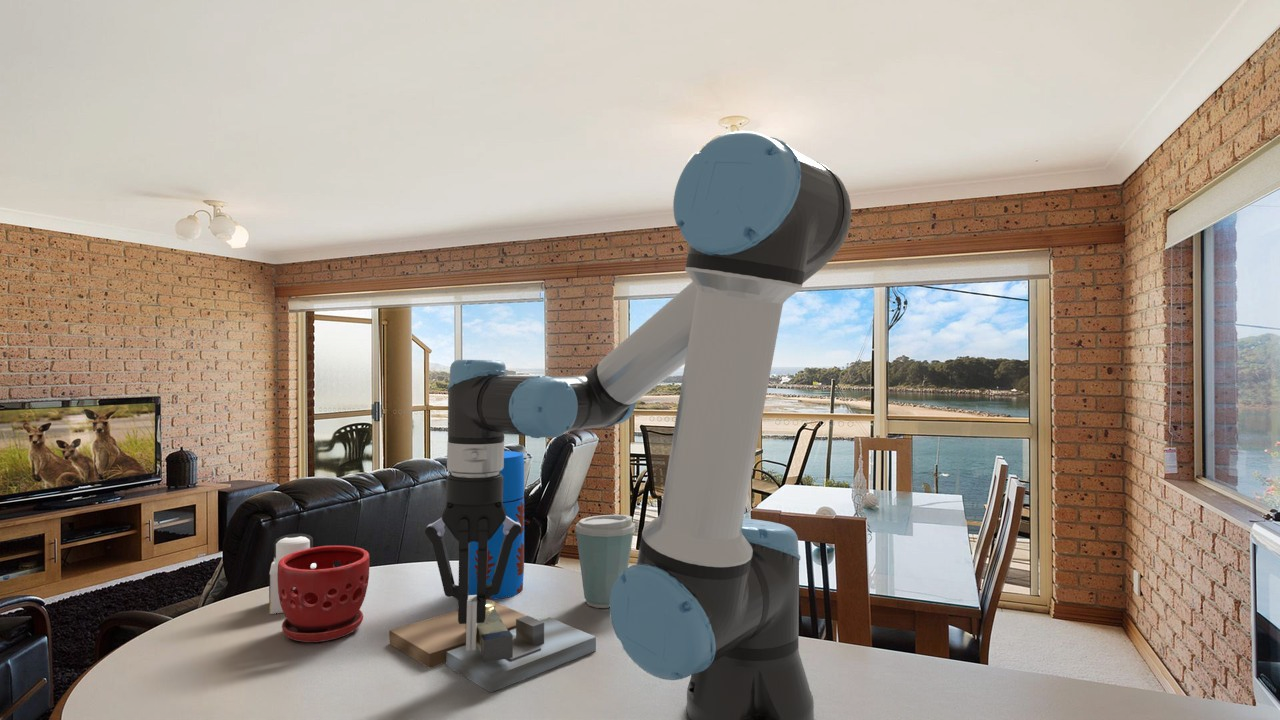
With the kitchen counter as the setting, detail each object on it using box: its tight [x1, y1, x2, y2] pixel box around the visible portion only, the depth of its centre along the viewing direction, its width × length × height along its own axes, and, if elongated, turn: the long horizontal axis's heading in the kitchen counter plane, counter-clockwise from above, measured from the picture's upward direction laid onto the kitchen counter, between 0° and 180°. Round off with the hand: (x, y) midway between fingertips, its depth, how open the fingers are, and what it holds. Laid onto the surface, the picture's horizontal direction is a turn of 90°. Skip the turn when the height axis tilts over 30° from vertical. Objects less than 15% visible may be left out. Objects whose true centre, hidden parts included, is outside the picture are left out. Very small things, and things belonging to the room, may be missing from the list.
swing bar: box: [465, 599, 513, 662], centre depth 98 cm, size 15×4×3 cm, turn 23°
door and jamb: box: [388, 601, 597, 693], centre depth 103 cm, size 24×20×5 cm
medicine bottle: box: [268, 533, 317, 615], centre depth 121 cm, size 7×7×12 cm
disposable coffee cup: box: [574, 514, 636, 609], centre depth 122 cm, size 11×11×15 cm
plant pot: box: [277, 545, 370, 643], centre depth 109 cm, size 13×13×12 cm
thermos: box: [468, 450, 525, 600], centre depth 129 cm, size 11×11×25 cm
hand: (471, 646), depth 95 cm, fingers closed
